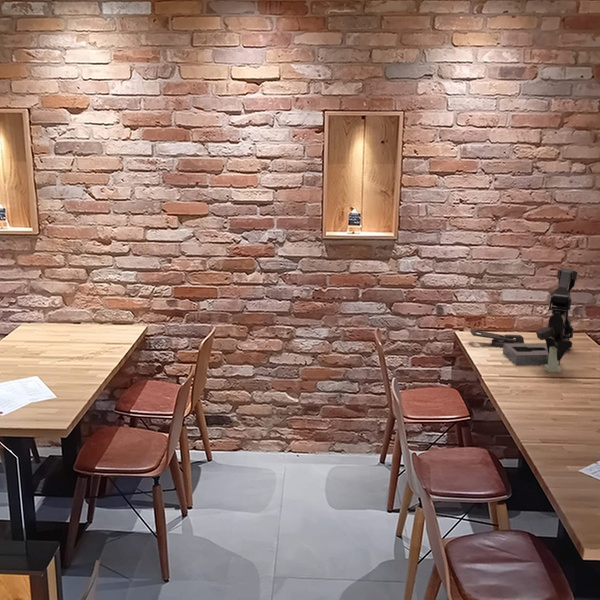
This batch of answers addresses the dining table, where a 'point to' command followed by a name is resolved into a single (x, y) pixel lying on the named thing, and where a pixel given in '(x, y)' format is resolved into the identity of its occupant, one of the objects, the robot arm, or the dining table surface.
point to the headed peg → (552, 361)
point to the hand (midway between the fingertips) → (553, 357)
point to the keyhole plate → (527, 353)
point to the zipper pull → (499, 338)
